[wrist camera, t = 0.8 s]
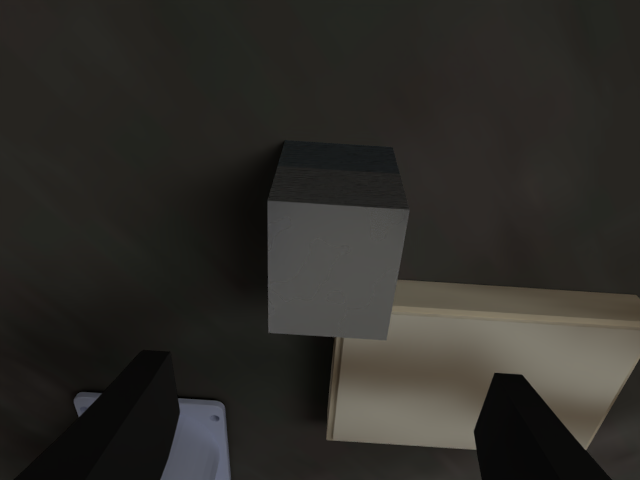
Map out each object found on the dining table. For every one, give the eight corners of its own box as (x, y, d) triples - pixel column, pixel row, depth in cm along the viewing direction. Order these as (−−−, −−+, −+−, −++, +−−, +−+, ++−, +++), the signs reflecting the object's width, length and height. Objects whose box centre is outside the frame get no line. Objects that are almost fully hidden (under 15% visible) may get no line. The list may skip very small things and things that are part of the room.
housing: (376, 257, 20) (386, 340, 16) (283, 251, 20) (268, 332, 16) (392, 146, 17) (409, 209, 13) (285, 139, 17) (267, 200, 13)
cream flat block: (567, 426, 25) (584, 460, 23) (327, 410, 25) (326, 443, 23) (636, 295, 20) (663, 326, 19) (340, 275, 20) (340, 305, 19)
